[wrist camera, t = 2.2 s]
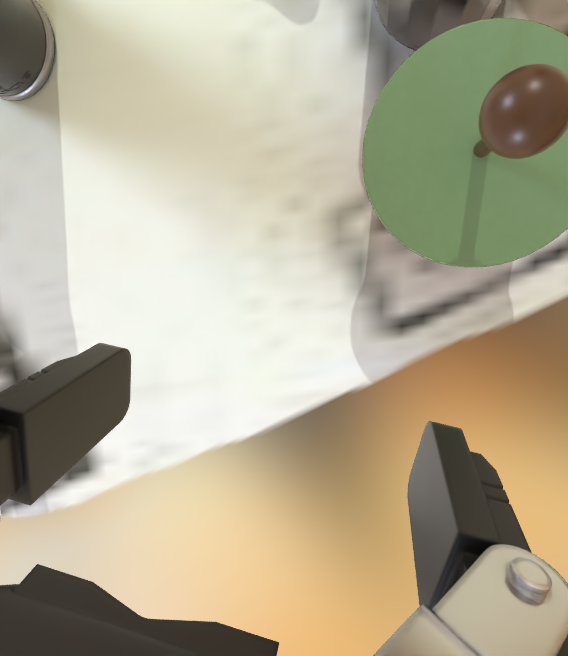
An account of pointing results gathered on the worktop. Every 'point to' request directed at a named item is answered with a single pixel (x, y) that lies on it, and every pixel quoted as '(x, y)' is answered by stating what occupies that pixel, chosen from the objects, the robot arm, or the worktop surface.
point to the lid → (474, 144)
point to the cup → (430, 17)
